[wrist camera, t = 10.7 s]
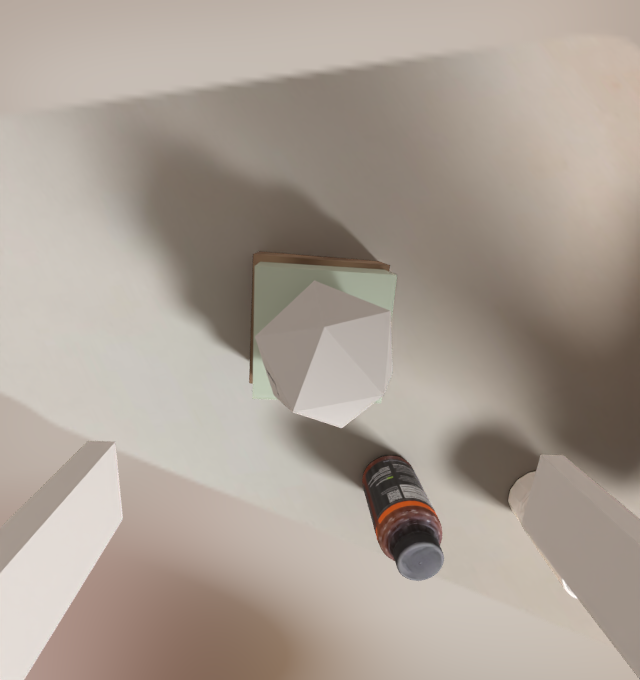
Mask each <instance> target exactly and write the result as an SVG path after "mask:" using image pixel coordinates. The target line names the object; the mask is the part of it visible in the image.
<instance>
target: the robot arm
mask: <svg viewBox="0 0 640 680" xmlns="http://www.w3.org/2000/svg"><path fill="white" fill-rule="evenodd" d="M122 519H123V515H122V505H121V494H120V484H119V474H118V464H117V454H116V444H115V442H105V441H87V442H86V444H85V445H84V446H83V447H81V448H80V449H79V450H78V451H77V453H75V454H74V455H73V456H72V457H71V458H70V459H69V460H68V461H67V462H66V463H65V464H64V465H63V466H62V467H61V468H60V469H59V470H58V471H57V472H56V473H55V474H54V475H53V476H52V477H51V478H50V479H49V480H48V481H47V482H46V483H45V484H44V485H43V486H42V487H41V488H40V489H39V490H38V491H37V492H36V493H35V494H34V495H33V496H32V497H31V498H30V499H29V500H28V501H27V502H26V503H25V504H24V505H23V506H22V507H21V508H20V509H19V510H18V511H17V512H16V513H15V514H14V515H13V516H12V517H11V518H10V519H9V520H8V521H7V522H6V523H5V524H4V525H2V527H1V528H0V680H24V679H25V678H26V676H27V674H28V673H29V671H30V669H31V668H32V666H33V665H34V663H35V661H36V660H37V658H38V656H39V655H40V653H41V652H42V650H43V648H44V647H45V645H46V643H47V641H48V640H49V639H50V637H51V635H52V634H53V632H54V630H55V629H56V627H57V625H58V624H59V622H60V621H61V619H62V617H63V616H64V614H65V612H66V611H67V609H68V607H69V606H70V604H71V603H72V601H73V599H74V598H75V596H76V595H77V593H78V591H79V590H80V588H81V586H82V584H83V583H84V581H85V580H86V578H87V577H88V575H89V573H90V572H91V570H92V568H93V567H94V565H95V564H96V562H97V560H98V559H99V557H100V555H101V554H102V552H103V551H104V549H105V547H106V545H107V544H108V542H109V541H110V539H111V537H112V536H113V534H114V532H115V531H116V529H117V528H118V526H119V524H120V523H121V521H122ZM521 525H522V526H523V528H524V529H525V530H526V532H527V533H528V534H529V535H530V537H531V538H532V539H533V541H534V542H535V543H536V545H537V546H538V547H539V549H540V550H541V551H542V552H543V554H544V555H545V556H546V558H547V559H548V560H549V562H550V563H551V564H552V566H553V567H554V568H555V569H556V571H557V572H558V573H559V575H560V576H561V577H562V579H563V580H564V581H565V583H566V584H567V585H568V586H569V588H570V589H571V590H572V592H573V593H574V594H575V596H576V597H577V598H578V600H579V601H580V602H581V603H582V605H583V606H584V607H585V609H586V610H587V611H588V613H589V614H590V615H591V617H592V618H593V619H594V620H595V622H596V623H597V624H598V626H599V627H600V628H601V630H602V631H603V632H604V634H605V635H606V636H607V637H608V639H609V640H610V641H611V643H612V644H613V645H614V647H615V648H616V649H617V651H618V652H619V653H620V654H621V656H622V657H623V658H624V660H625V661H626V662H627V664H628V665H629V666H630V668H631V669H632V670H633V671H634V673H635V674H636V675H637V677H638V678H639V679H640V519H639V518H638V517H637V516H635V515H634V514H633V513H632V512H631V511H629V510H628V509H627V508H626V507H625V506H623V505H622V504H621V503H620V502H619V501H617V500H616V499H615V498H614V497H613V496H611V495H610V494H609V493H608V492H607V491H606V490H604V489H603V488H602V487H601V486H600V485H598V484H597V483H596V482H595V481H594V480H592V479H591V478H590V477H589V476H588V475H586V474H585V473H584V472H583V471H582V470H580V469H579V468H578V467H577V466H576V465H574V464H573V463H572V462H571V461H570V460H569V459H567V458H566V457H565V456H564V455H540V459H539V463H538V466H537V470H536V473H535V477H534V481H533V484H532V488H531V491H530V495H529V498H528V502H527V506H526V509H525V513H524V516H523V520H522V524H521Z"/></svg>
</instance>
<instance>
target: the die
mask: <svg viewBox="0 0 640 680" xmlns="http://www.w3.org/2000/svg"><path fill="white" fill-rule="evenodd" d="M255 339H256V342H257V345H258V348H259V351H260V354H261V357H262V361H263V364H264V367H265V370H266V373H267V376H268V379H269V382H270V385H271V388H272V391H273V394H274V396H275V397H276V398H277V399H278V400H280V401H281V402H282V403H283V404H284V405H285V406H286V407H287V408H288V409H290V410H291V411H292V412H293V413H296V414H299V415H303V416H306V417H309V418H312V419H315V420H318V421H321V422H324V423H327V424H330V425H333V426H336V427H339V428H343V427H344V426H345V425H347V424H348V423H349V422H350V421H352V420H353V419H354V418H356V417H357V416H358V415H359V414H361V413H362V412H363V411H364V410H366V409H367V408H368V407H370V406H371V405H372V404H373V403H375V402H376V401H377V400H378V399H380V398H381V397H382V396H384V394H385V391H386V389H387V386H388V384H389V381H390V379H391V376H392V373H393V365H392V333H391V311H390V310H387V309H385V308H382V307H380V306H377V305H375V304H372V303H370V302H367V301H365V300H362V299H360V298H357V297H355V296H352V295H350V294H347V293H345V292H342V291H340V290H337V289H335V288H332V287H330V286H327V285H325V284H322V283H320V282H317V281H315V280H314V281H313V282H312V283H311V284H310V285H309V286H308V287H307V288H306V289H305V290H304V291H303V292H302V293H300V294H299V295H298V296H297V297H296V298H295V299H294V300H293V301H292V302H291V303H290V304H289V305H288V306H287V307H286V308H284V309H283V310H282V311H281V312H280V313H279V314H278V315H277V316H276V317H275V318H274V319H273V320H272V321H271V322H270V323H269V324H267V325H266V326H265V327H264V328H263V329H262V330H261V331H260V332H259V333H258V334H257V335H256V336H255Z"/></svg>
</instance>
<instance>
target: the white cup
mask: <svg viewBox="0 0 640 680" xmlns="http://www.w3.org/2000/svg"><path fill="white" fill-rule="evenodd" d="M535 473H536V471H534V472H530V473H527V474H526V475H524V476H523V477H521V478H520V479H518V480H517V481H516V482H515V484H514V485H513V487H512V488H511V489H510V493H509V498H508V502H509V505H510V507H511V510H512V512H513V513H514V515H515V516H516V517H517V519H518V520H519V522H520V523H521V524H522V520H523V516H524V513H525V509H526V506H527V502H528V498H529V495H530V491H531V488H532V484H533V481H534V477H535ZM522 527H523V526H522ZM523 529H524V528H523ZM524 530H525V529H524ZM525 532H526V530H525ZM526 533H527V532H526ZM527 535H528V536H529V537H530V535H529V534H528V533H527ZM530 539H531V541H532V542H533V544H534V546H535V547H536V548H537V550H538V551H539V553H540V554H541V556H542V557H543V559H544V560H545V561H546V563H547V564H548V566H549V567H550V569H551V570H552V571H553V573H554V574H555V576H556V577H557V579H558V580H559V582H560V583H561V585H562V586H563V587H564V589H565V590H566V592H567V593H568V594H570V595H571V596H572V597H574V598H576V599H578V598H577V597H576V596H575V594H574V593H573V592H572V590H571V589H570V588H569V586H568V585H567V584H566V583H565V581H564V580H563V579H562V577H561V576H560V575H559V573H558V572H557V571H556V569H555V568H554V567H553V566H552V564H551V563H550V562H549V560H548V559H547V558H546V556H545V555H544V554H543V552H542V551H541V550H540V549H539V547H538V546H537V545H536V543H535V542H534V541H533V539H532V538H531V537H530Z"/></svg>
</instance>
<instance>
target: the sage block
mask: <svg viewBox="0 0 640 680" xmlns="http://www.w3.org/2000/svg"><path fill="white" fill-rule="evenodd" d="M314 280H315V281H317V282H320V283H322V284H325V285H327V286H330V287H332V288H335V289H337V290H340V291H342V292H345V293H347V294H350V295H352V296H355V297H357V298H360V299H362V300H365V301H367V302H370V303H372V304H375V305H377V306H380V307H382V308H385V309H387V310H390V311H391V321H392V313H393V305H394V297H395V289H396V281H397V275H396V274H394V273H391V272H389V271H387V270H384V269H368V268H353V267H337V266H321V265H306V264H290V263H274V262H259V263H258V264H257V265H255V276H254V337H253V398H252V399H271V400H278V399H277V398H276V397H275V396H274V394H273V391H272V388H271V385H270V382H269V379H268V376H267V373H266V370H265V367H264V364H263V361H262V357H261V354H260V351H259V348H258V345H257V342H256V339H255V336H256V335H257V334H258V333H259V332H260V331H261V330H262V329H263V328H264V327H265V326H266V325H267V324H269V323H270V322H271V321H272V320H273V319H274V318H275V317H276V316H277V315H278V314H279V313H280V312H281V311H282V310H283V309H284V308H286V307H287V306H288V305H289V304H290V303H291V302H292V301H293V300H294V299H295V298H296V297H297V296H298V295H299V294H300V293H302V292H303V291H304V290H305V289H306V288H307V287H308V286H309V285H310V284H311V283H312V282H313V281H314ZM381 400H382V397H381V398H380V399H378V400H377V401H376V402H375V403H381Z"/></svg>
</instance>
